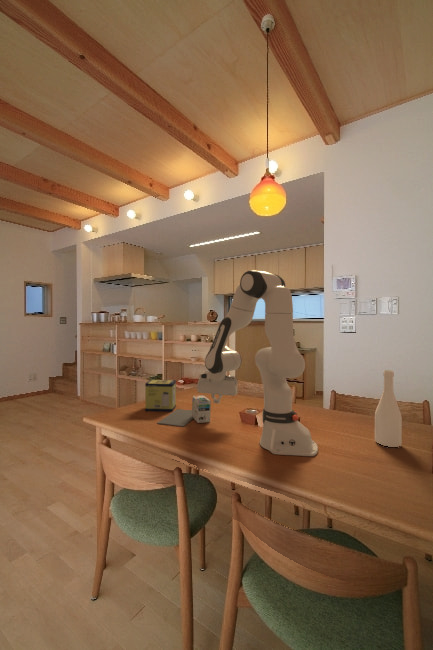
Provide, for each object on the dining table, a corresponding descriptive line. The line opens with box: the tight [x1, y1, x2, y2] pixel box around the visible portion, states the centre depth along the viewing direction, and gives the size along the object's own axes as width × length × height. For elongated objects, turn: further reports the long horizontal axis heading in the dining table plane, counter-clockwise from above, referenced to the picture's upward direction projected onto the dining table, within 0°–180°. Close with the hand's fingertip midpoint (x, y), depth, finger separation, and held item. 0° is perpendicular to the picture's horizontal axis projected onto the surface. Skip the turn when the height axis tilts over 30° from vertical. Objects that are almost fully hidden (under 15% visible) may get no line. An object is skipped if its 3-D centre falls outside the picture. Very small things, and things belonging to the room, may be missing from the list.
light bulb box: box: [191, 395, 212, 424], centre depth 149 cm, size 11×7×11 cm, turn 22°
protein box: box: [144, 379, 177, 413], centre depth 168 cm, size 10×16×16 cm
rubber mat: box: [156, 408, 195, 428], centre depth 152 cm, size 14×24×1 cm, turn 163°
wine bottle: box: [374, 369, 403, 448], centre depth 121 cm, size 10×10×30 cm
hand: (216, 402), depth 147 cm, fingers closed
